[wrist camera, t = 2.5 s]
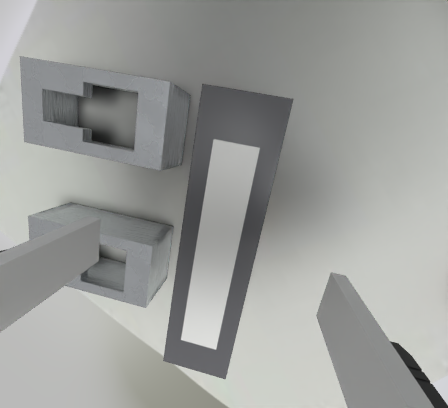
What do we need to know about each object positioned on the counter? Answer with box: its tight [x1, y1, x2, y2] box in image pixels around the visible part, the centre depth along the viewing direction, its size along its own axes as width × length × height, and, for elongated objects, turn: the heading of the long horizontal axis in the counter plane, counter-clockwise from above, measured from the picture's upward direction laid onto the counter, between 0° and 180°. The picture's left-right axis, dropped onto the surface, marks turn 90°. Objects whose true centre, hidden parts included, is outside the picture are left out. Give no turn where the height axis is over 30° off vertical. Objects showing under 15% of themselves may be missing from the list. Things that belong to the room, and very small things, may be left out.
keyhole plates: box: [20, 56, 190, 308], centre depth 22 cm, size 19×12×5 cm, turn 170°
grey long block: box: [163, 84, 293, 379], centre depth 18 cm, size 18×4×8 cm, turn 170°
